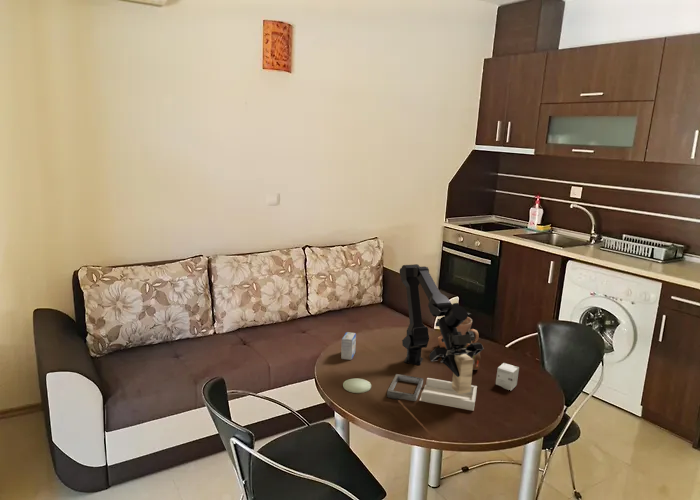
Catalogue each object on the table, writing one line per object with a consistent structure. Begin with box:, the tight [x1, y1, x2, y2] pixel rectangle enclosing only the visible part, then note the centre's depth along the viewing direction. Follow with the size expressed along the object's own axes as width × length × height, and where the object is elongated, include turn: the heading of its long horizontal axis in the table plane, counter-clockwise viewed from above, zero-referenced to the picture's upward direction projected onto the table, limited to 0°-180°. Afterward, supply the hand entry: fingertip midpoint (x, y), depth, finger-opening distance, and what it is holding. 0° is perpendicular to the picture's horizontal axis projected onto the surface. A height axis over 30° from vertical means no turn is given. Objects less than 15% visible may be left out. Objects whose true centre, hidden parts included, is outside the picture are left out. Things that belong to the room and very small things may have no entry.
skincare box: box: [495, 362, 520, 392], centre depth 187 cm, size 6×6×7 cm
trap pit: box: [386, 373, 424, 402], centre depth 181 cm, size 14×10×2 cm
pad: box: [342, 377, 372, 394], centre depth 183 cm, size 10×10×1 cm
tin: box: [464, 343, 482, 371], centre depth 203 cm, size 15×3×8 cm, turn 5°
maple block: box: [451, 354, 474, 394], centre depth 173 cm, size 4×4×12 cm
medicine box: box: [340, 331, 357, 361], centre depth 208 cm, size 8×4×9 cm, turn 168°
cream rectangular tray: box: [419, 377, 478, 412], centre depth 176 cm, size 12×18×4 cm, turn 72°
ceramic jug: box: [437, 316, 480, 348], centre depth 217 cm, size 18×14×14 cm
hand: (464, 375), depth 172 cm, fingers closed on maple block, 4 cm apart
